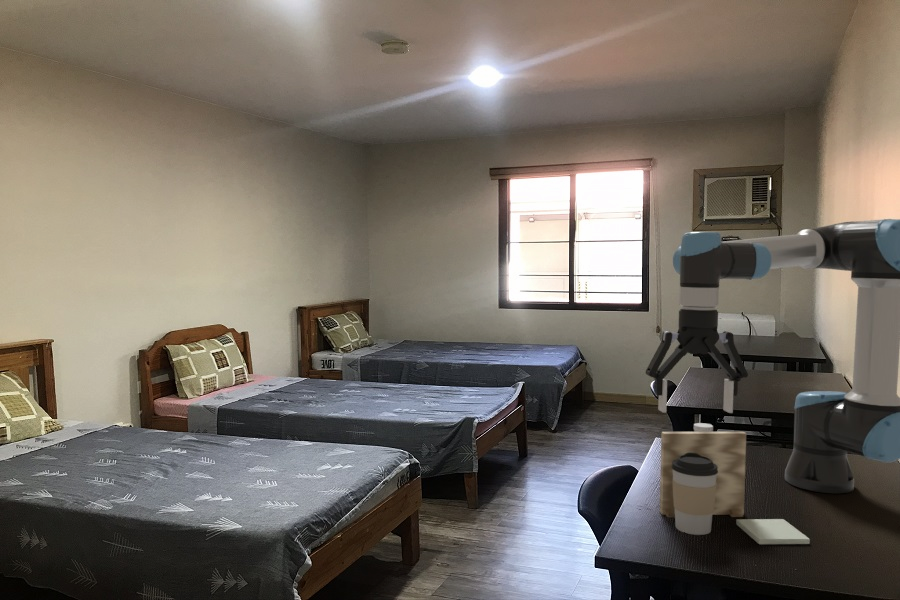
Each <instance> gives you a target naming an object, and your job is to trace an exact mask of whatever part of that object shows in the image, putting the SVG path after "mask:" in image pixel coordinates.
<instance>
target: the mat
mask: <svg viewBox="0 0 900 600" xmlns="http://www.w3.org/2000/svg"><path fill="white" fill-rule="evenodd" d="M735 521H736V523H735V524H736V526H738V527H739V528H740V529H741V530H742V531H743V532H744V533H746V534H747V535H748V536H749V537H750V538H751V539H753V540H754V541H755V542H756V543H757V544H759V545H810V541H811V539H810V538H809V537H808V536H807V535H806V534H804V533H802V532H801V531H800V530H799V529H797V528H796V527H795V526H793V525H792V524H790V523H789V522H788V521H786V520H785V519H783V518H771V519H770V518H767V519H765V518H759V519H756V518H755V519H753V518H751V519H750V518H749V519H748V518H747V519H746V518H745V519H743V518H742V519H741V518H739V519H736V520H735Z"/></svg>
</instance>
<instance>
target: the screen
mask: <svg viewBox="0 0 900 600" xmlns="http://www.w3.org/2000/svg"><path fill="white" fill-rule="evenodd" d="M660 435H661V436H660V438H661V439H660V440H661V442H660V477H659V478H660V480H659V482H660V483H659V486H660V487H659V513H660V514H661V516H666V517H667V518H675V508H674V500H673V480H672V479H673V469H672V467H671V466H672V462H673V461H674V460H676V459H677V457H678V456H680V455H684V454H686V453H697V454H699V455H701V456H704V457H707V458H710V459H711V460H712V461H713V463H714V464H716V465H717V466H718V469H717V470H718V473H717V476H716V483H717V485H716V494H715V504H714V512H713V514H712V516H713V515H714V516H715V515H717V516H718V515H719V516H720V515H725V516H726V515H729V516H730V517H731V518H743V517H744V513H745V490H746V488H745V487H746V485H745V483H746V453H747V432H744V431H712V432H695V431H661V434H660Z"/></svg>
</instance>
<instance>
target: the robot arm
mask: <svg viewBox="0 0 900 600" xmlns="http://www.w3.org/2000/svg"><path fill="white" fill-rule="evenodd" d="M672 266H673V268H674V270H675V272H676V273H677V275H679V301H678V302H679V304H678V305H679V306H680V307H682V308H680V309H679V310H678V325H677V326H678V330H677V332H671V331H667V330H664V331H663V332H662V334H661V341H660V343H659V345H658V346H657V349H656V351H655V352H654V354H653V357H652V358H651V361H650V362H649V364H648V366H647V368H646V369H645V375H647V376H649V377H650V378H653V380H654V386H653V387H654V388H653V389H654V390H653V391H654V394H655V395H656V396H658V401H657V402H658V405H657V409H658V411H660V412H661V413H666V414H667V406H668V405H667V403H668V401H667V400H668V397H667V396H668V380H666V376H668V374H670V372H671V371H672V370H673V368H674V367H675V366H676V365H677V364H678V363H679V362H680V361H681V360H682V358H683V357H685V356H686V355H688V354H690V355H697V354H701V355H707V354H708V355H710V356H711V357H712V359H713V360H714V362H716V364H717V365H718V366H719V367H720V369H721V370H722V371H723V372H724V373H725V375H726V376H727V378H724V380H723V381H724V382H723V384H724V385H723V404H722V405H723V407H722V409H723V411H724V412H727V413H729V414H733V412H734V397H737V396H738V393H739V392H738V387H739V382H741V381H742V380H741V379H743V378H745V379H746V378H748V376H749V373H748V371H747V368H746V367H745V364H744V362H743V360H742V358H741V356H740V354H739V352H738V349H737V346H736V345H735V341H734V340H735V339H734V333H733V332H729V331H725V330H724V331H723V332H718V327H719V311H718V310H717V309H716V308H718V307H719V306H720V305H719V303H720V301H719V300H720V295H719V294H720V280H723V279H724V280H749V281H751V280H756V279H757V280H758V279H762V278H764V277H765V276H766V275H767V274H768V273H769V272H770V270H775V269H784V268H795V267H801V268H802V269H804V270H812V269H827V270H836V271H847V272H851V273H850V280H851V281H852V282H853V283H854V284H855V285H856V286H857V304H856V321H855V335H854V337H855V339H854V351H853V352H854V353H853V354H854V355H853V357H854V358H853V370H852V372H853V373H852V386H851V387H852V388H851V390H850V391H849V392H845V391H834V390H832V391H826V390H825V391H823V390H820V391H819V390H817V391H814V390H812V391H803V392H802V391H801V392H799V393H798V394H797V395H796V397H795V403H794V407H793V410H794V411H793V412H794V414H793V417H794V418H793V449H792V452H791V455H790V457H789V459H788V462H787V465H786V468H785V470H784V480H785V481H786V482H787V483H788V484H790V485H791V486H794V487H797V488H799V489H803V490H807V491H812V492H817V493H823V494H845V493H846V494H847V493H850V492H853V491H854V490H855V478H854V476H853V472H852V468H851V465H850V462H849V459H848V453H852V454H855V455H857V456H861V457H864V458H866V459H868V460H871V461H878V462H882V463H894V462H897V461H899V460H900V396H899V395H898V377H899V367H900V366H899V363H900V219H898V218H897V219H894V218H893V219H892V218H887V219H886V218H884V219H872V220H860V221H845V222H837V223H834V224H829V225H825V226H819V227H814V228H807V229H802V230H800V231H799V232H797V234H789V235H788V234H787V235H786V234H785V235H779V236H778V235H777V236H776V235H775V236H768V237H765V236H764V237H759V238H758V237H757V238H756V237H755V238H745V239H736V240H727V241H722V238H721V234H720V233H719V232H717V231H691V232H685V233H684V234H683V235H682V237H681V242H680V246H679V247H678V248H677V249H675V251H674V253H673V256H672ZM675 340H677V342H678V343H679V344H678V345H677V346H676V347H675V349H674V351H673V352H672V353H671V354H670V355H669V357H668V358H667V359H666V360H665V361H664V359H665V357H666V355H667V354H668V351H669V349H670V347H671V344H673V343H674V342H675ZM718 341H720V342H721V343H723V346H724V348H725V352H726V353H727V355H728V357H729V359H730V361H731V364H732V366H733V367H732V366H731V365H730V363H729V362H728V360H726V358H725V357H724V356H723V355H722V354H721V351H720V350H719V349H718V348H717V346H716V344H717V343H718ZM663 361H664V362H663ZM662 362H663V363H662ZM733 368H734V369H733Z"/></svg>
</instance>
